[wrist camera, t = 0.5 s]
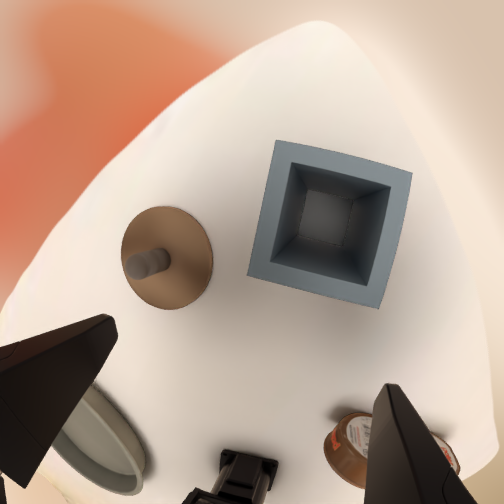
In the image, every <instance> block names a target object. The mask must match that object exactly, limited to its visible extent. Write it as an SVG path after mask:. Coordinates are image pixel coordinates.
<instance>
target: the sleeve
mask: <svg viewBox="0 0 504 504" xmlns="http://www.w3.org/2000/svg"><path fill="white" fill-rule="evenodd" d="M411 179H412V173H411V172H408V171H405V170H401V169H398V168H395V167H392V166H388V165H385V164H381V163H378V162H374V161H371V160H367V159H363V158H359V157H355V156H351V155H347V154H343V153H339V152H335V151H330V150H326V149H322V148H317V147H312V146H307V145H302V144H297V143H292V142H286V141H281V140H276V141H275V146H274V151H273V156H272V160H271V165H270V170H269V174H268V179H267V184H266V188H265V193H264V198H263V202H262V207H261V212H260V217H259V221H258V226H257V231H256V235H255V240H254V245H253V249H252V254H251V259H250V263H249V268H248V273H247V276H250V277H254V278H258V279H262V280H265V281H269V282H273V283H277V284H281V285H284V286H288V287H292V288H296V289H300V290H304V291H308V292H312V293H316V294H319V295H323V296H327V297H331V298H335V299H339V300H343V301H348V302H352V303H356V304H360V305H364V306H368V307H372V308H376V309H379V307H380V304H381V301H382V298H383V295H384V292H385V289H386V285H387V282H388V279H389V275H390V272H391V268H392V265H393V261H394V257H395V254H396V250H397V246H398V242H399V238H400V234H401V229H402V225H403V221H404V216H405V211H406V206H407V201H408V196H409V191H410V185H411ZM307 189H309V190H313V191H318V192H322V193H326V194H330V195H334V196H338V197H342V198H346V199H350V200H354V201H353V206H352V210H351V215H350V219H349V223H348V228H347V232H346V236H345V240H344V244H343V247H342V246H338V245H334V244H330V243H326V242H322V241H318V240H314V239H310V238H306V237H302V236H298V235H297V234H298V230H299V225H300V221H301V216H302V212H303V207H304V203H305V198H306V193H307Z"/></svg>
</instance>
